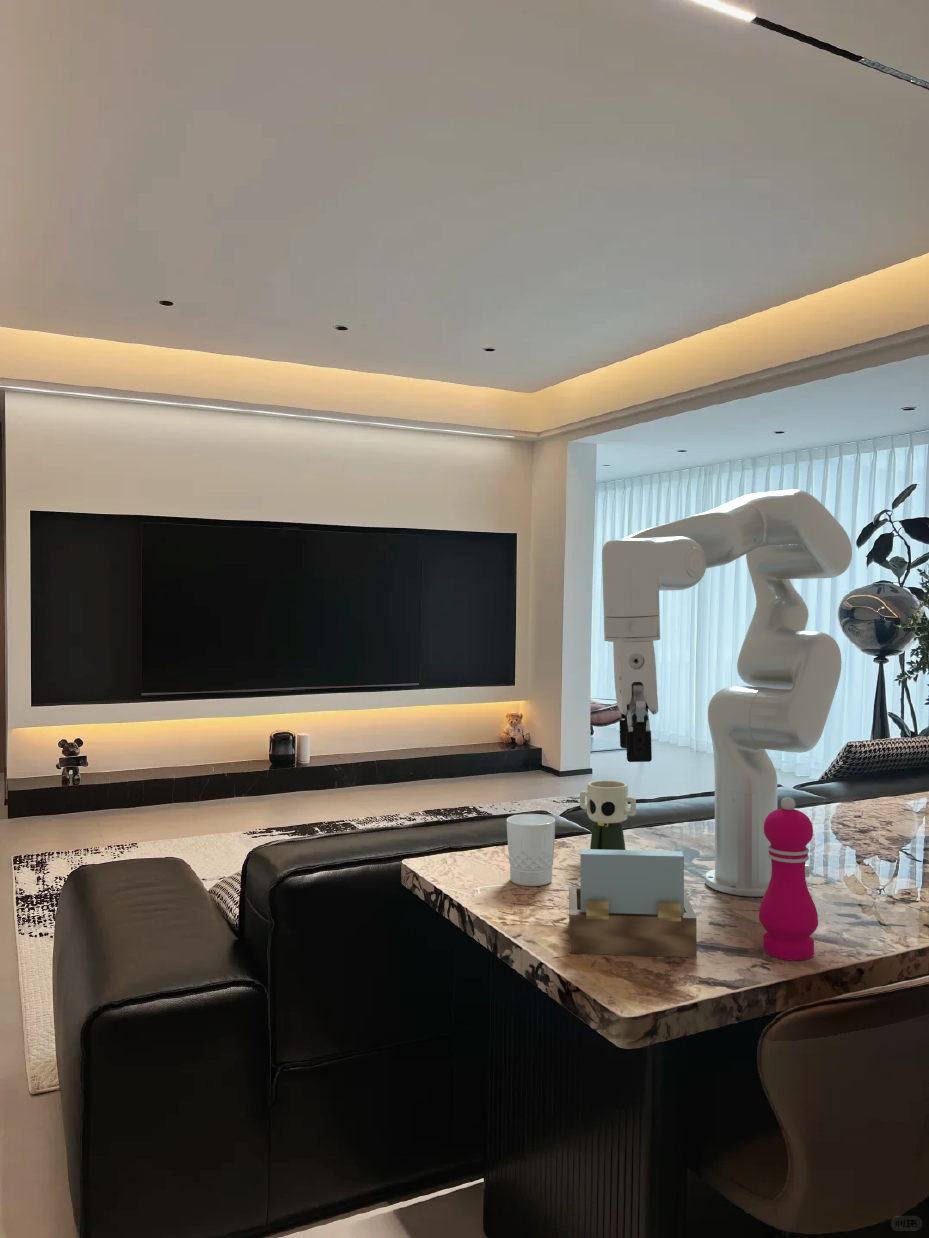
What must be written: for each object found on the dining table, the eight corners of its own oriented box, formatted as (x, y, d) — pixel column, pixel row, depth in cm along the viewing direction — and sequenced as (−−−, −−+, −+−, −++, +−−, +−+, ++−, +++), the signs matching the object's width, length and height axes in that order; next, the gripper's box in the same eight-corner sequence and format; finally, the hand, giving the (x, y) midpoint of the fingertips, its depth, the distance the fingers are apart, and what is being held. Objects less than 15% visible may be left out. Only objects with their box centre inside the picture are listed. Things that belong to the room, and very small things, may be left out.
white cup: (553, 888, 147) (552, 825, 147) (503, 886, 148) (503, 824, 148) (557, 874, 155) (557, 814, 154) (510, 872, 156) (510, 813, 156)
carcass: (684, 924, 130) (684, 873, 130) (698, 961, 117) (698, 904, 117) (569, 921, 132) (568, 870, 132) (570, 957, 119) (569, 900, 118)
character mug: (570, 856, 165) (570, 783, 165) (589, 847, 171) (589, 777, 171) (626, 866, 159) (626, 790, 159) (644, 857, 165) (644, 783, 164)
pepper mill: (750, 942, 123) (749, 791, 123) (802, 940, 124) (802, 790, 124) (772, 963, 116) (772, 803, 116) (828, 961, 117) (828, 802, 116)
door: (681, 908, 121) (681, 850, 121) (684, 915, 118) (683, 856, 118) (580, 905, 122) (580, 848, 122) (580, 911, 120) (580, 853, 120)
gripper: (668, 632, 118) (672, 766, 119) (651, 625, 135) (655, 742, 136) (609, 634, 118) (612, 767, 119) (599, 626, 136) (603, 743, 136)
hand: (635, 754), depth 127 cm, fingers open, 9 cm apart
